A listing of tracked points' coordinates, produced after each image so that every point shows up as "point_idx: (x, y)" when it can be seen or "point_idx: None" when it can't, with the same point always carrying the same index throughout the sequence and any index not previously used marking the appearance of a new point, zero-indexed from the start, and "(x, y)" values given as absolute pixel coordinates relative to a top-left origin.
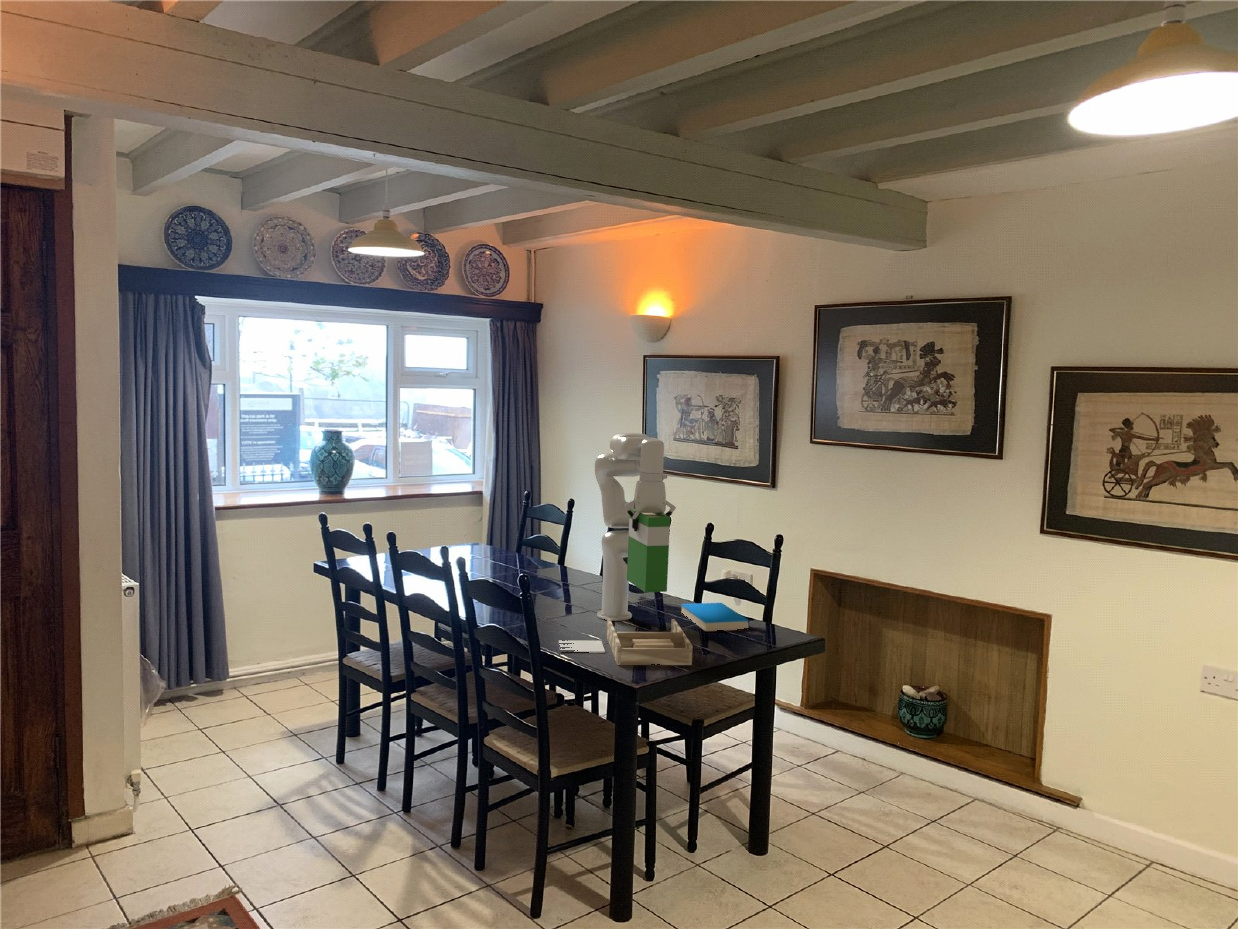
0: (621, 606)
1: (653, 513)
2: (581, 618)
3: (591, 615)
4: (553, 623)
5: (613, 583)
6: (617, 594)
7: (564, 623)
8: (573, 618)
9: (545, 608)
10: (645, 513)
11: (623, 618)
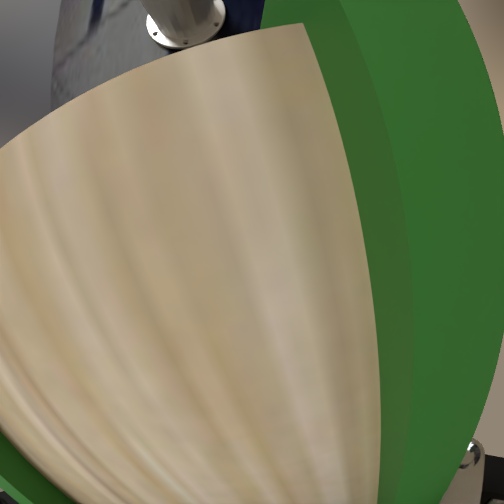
0: (194, 24)
1: (371, 466)
2: (114, 45)
3: (137, 19)
4: (61, 97)
5: (158, 2)
6: (177, 14)
7: (79, 91)
8: (98, 50)
9: (61, 8)
10: (176, 497)
11: (203, 41)
